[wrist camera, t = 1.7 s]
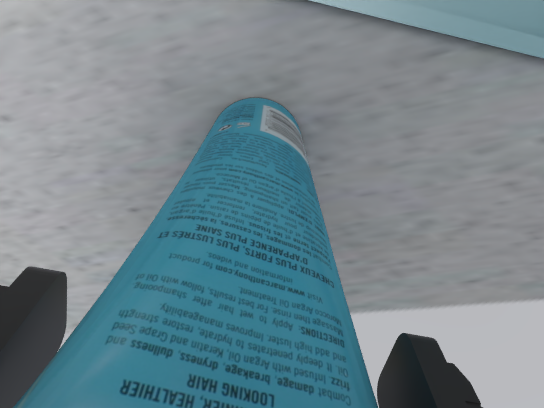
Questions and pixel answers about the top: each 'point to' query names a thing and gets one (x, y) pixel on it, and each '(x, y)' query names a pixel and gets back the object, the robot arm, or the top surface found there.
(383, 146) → the top surface
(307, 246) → the tube
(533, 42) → the tray
